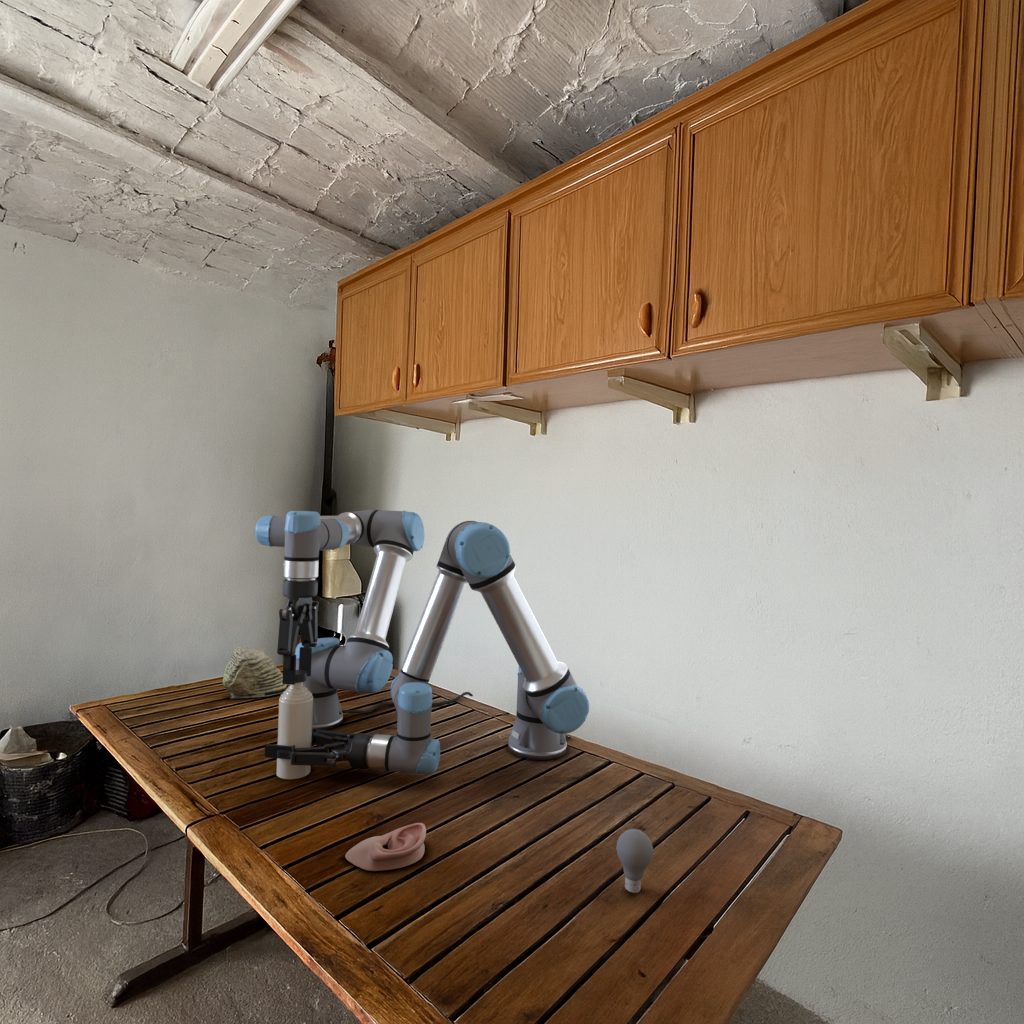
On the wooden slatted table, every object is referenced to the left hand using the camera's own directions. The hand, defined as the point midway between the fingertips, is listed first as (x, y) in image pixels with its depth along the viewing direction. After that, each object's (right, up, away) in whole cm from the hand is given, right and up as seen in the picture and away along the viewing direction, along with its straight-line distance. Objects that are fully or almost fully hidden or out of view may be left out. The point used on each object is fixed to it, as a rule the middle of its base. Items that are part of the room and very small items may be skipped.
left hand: (297, 679), depth 145 cm
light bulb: (+69, -25, -39) cm, 83 cm away
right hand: (-5, -15, +1) cm, 16 cm away
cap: (0, +1, 0) cm, 1 cm away
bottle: (-1, -21, 0) cm, 21 cm away
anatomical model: (+27, -23, -31) cm, 47 cm away
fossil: (-31, -19, +54) cm, 65 cm away
